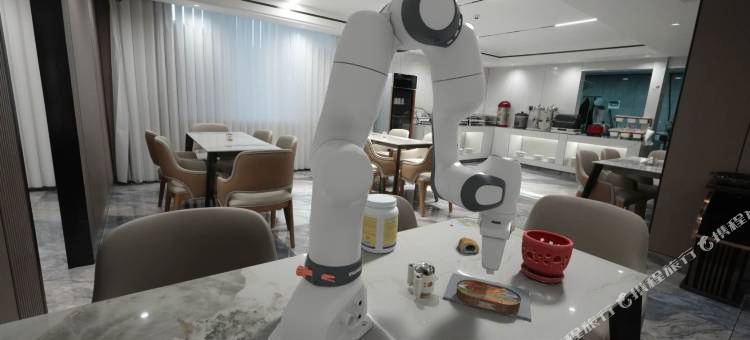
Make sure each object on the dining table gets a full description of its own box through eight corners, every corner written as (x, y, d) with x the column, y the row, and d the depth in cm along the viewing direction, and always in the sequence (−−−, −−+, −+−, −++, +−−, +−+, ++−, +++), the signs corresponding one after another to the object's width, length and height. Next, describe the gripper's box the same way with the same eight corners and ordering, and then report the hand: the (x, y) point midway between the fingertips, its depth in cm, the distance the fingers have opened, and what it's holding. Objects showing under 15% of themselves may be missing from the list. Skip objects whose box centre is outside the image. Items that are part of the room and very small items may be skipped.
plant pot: (571, 290, 93) (579, 249, 90) (519, 280, 97) (525, 240, 94) (562, 270, 105) (568, 233, 103) (516, 261, 109) (521, 225, 107)
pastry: (455, 242, 123) (456, 232, 122) (474, 244, 122) (475, 233, 122) (460, 253, 113) (461, 242, 113) (480, 255, 113) (482, 244, 112)
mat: (531, 320, 78) (531, 318, 78) (443, 298, 85) (443, 296, 85) (528, 291, 91) (529, 290, 91) (452, 274, 98) (452, 272, 98)
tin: (521, 290, 85) (521, 306, 77) (519, 302, 85) (519, 319, 77) (459, 276, 90) (454, 289, 82) (458, 287, 91) (452, 301, 83)
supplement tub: (392, 240, 121) (396, 193, 118) (399, 254, 109) (403, 203, 106) (358, 239, 119) (360, 192, 116) (360, 254, 107) (363, 202, 104)
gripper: (486, 207, 96) (480, 254, 98) (479, 230, 77) (472, 286, 79) (510, 211, 93) (504, 258, 96) (509, 235, 75) (501, 293, 77)
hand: (489, 271), depth 88 cm, fingers closed
